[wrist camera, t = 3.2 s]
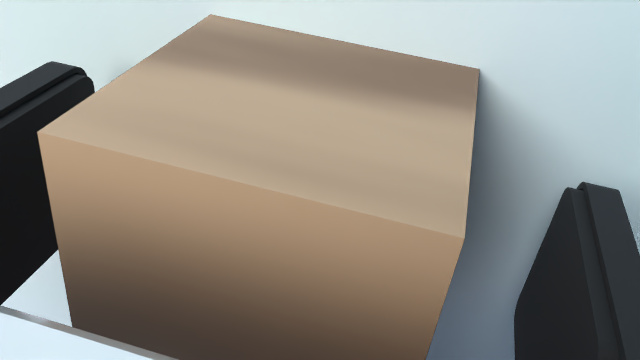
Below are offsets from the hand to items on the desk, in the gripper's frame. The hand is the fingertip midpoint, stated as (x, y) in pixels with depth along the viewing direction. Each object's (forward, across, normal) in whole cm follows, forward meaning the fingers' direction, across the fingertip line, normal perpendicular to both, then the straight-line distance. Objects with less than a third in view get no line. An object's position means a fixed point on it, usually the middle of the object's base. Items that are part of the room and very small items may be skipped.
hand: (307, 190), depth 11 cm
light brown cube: (+1, 0, 0) cm, 1 cm away
